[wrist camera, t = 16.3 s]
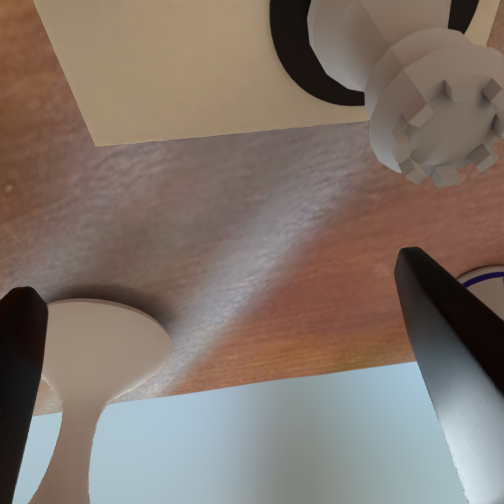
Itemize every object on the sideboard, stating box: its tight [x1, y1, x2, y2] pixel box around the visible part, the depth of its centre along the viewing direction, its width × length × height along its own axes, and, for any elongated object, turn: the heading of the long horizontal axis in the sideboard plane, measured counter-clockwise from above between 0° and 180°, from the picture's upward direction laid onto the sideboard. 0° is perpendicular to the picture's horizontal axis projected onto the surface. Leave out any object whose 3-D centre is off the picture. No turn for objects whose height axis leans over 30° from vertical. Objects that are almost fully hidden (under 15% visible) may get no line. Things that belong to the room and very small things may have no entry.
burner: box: [269, 0, 479, 106], centre depth 14 cm, size 7×7×1 cm
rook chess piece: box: [307, 0, 504, 188], centre depth 12 cm, size 4×4×8 cm
